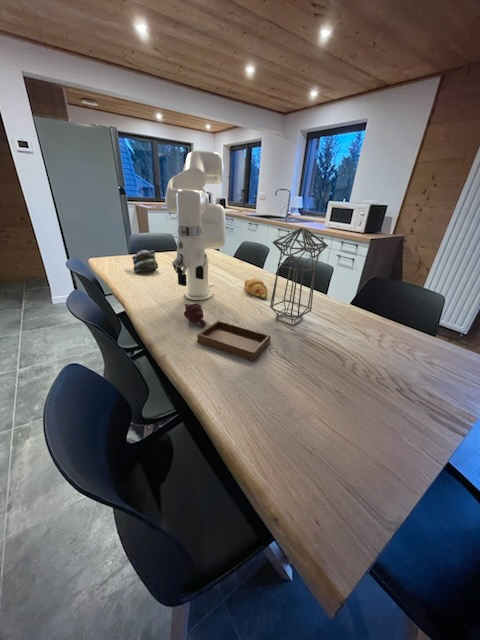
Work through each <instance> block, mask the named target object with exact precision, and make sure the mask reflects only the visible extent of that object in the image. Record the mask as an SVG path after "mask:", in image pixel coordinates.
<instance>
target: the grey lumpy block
mask: <svg viewBox="0 0 480 640" xmlns="http://www.w3.org/2000/svg"><path fill="white" fill-rule="evenodd" d="M131 258H132V264H133V268H132V269H133V271H134V273H136V274H137V273H139V272H145V271H156V270H158V269H159V264H158V262H157V260H156V253H155V251H154V250H151V249H150V248H147V249H146V250H140V251H137V252H136V253H135V255H133V256H131Z"/></svg>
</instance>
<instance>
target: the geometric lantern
mask: <svg viewBox="0 0 480 640" xmlns="http://www.w3.org/2000/svg"><path fill="white" fill-rule="evenodd" d="M300 234H302V235H301V236H302V240H300V239H298V238H299V237H300ZM312 237H313V238H314V239H316V240H317V241H318V242H320V243H316V242H315V241H314V240H313V238H312ZM285 238H286V239H285ZM281 240H283V241H281ZM291 243H292V244H291ZM296 243H297V244H298V245H299V246H300V247H294V244H296ZM301 243H302V244H303V245H302V244H301ZM272 245H274V246H275V247H276V248H277V250H278V251H280V254H279V259H278V263H277V268H276V274H275V280H274V285H273V289H272V294H271V300H270V304H269V308H270V309H271V310H272V311H273V312H274V313H275V314H276V317H275V319H276V320H277V321H279V322H282V323H285V324H288V325H290V326H295V325H297V324H298V323H300V322H301V321H302V320H303V318H304V315H307V314H308V313H311V312H312V309H313V308H312V307H313V297H314V287H315V277H316V269H317V266H318V261H319V257H320V254H321V253H322V252H324V250H326V248H327V247H329V244H327V243H326V242H324V241H323V240H322V239H320V237H318V236H316V235H315V234H313V232H311V231H310V230H309V229H307V228H306V227H299V228H298V229H295V230H294V231H291V232H289V233H288V234H285V235H284V236H281V237H279V238H277V239H275V240H273V241H272ZM288 249H289V252H288ZM292 250H298V251H295V252H292ZM316 251H318V252H317V253H316ZM301 252H302V253H301ZM306 252H307V253H309V254H310V257H309V258H308V259H307V261H306V262H301V261H299V260H301V258H302V257H303V256H304V254H305V253H306ZM299 253H301V254H300V256H299V257H298V258H297V260H295V258H294V256H295V255H297V254H299ZM284 256H286V257H288V258H289V260H288V261H284V262H281V261H282V259H283V257H284ZM313 259H316V260H315V264H314V260H313ZM310 260H311V262H312V264H311V263H308V262H309V261H310ZM288 263H290V264H289V266H285V265H284V264H288ZM297 263H298V264H302V265H303V266H302V267H301V269H300V268H299V267H298V264H297ZM293 264H294V268H293V267H292V265H293ZM306 265H307V266H310V267H311V268H307V269H304V268H305V266H306ZM280 267H282V268H285V269H289V270H288V275H287V279H286V285H285V289H284V295H283V300H281V301H278V302H276V303H275V298H276V297H275V296H276V291H277V290H276V289H277V284H278V279H279V278H278V277H279V271H280ZM303 269H304V270H303ZM291 270H293V275H292V283H291V289H290V295H289V300H286V295H287V290H288V285H289V281H290V275H291ZM311 270H312V276H311V283H310V290H309V297H308V302H307V305H304V304H301V300H302V290H303V289H302V288H303V280H304V272H307V271H311ZM299 272H301V277H300V286H299V298H298V302H295V296H296V290H297V283H298V276H299ZM286 302H287V303H288V304H287V307H286ZM282 303H283V306H284V308H283V309H282V310H278V309H276V308H274V306H277V305H279V304H282ZM290 304H291V308H290ZM294 304H295V305H297V306H298V307H297V311H296V310H294ZM301 307H304V308H306V309H305V310H303V311H302V312H300V309H301ZM288 311H290V312H288ZM293 312H294V313H297V315H296V314H293ZM279 317H282V318H285V319H288V320H290V321H291V323H289V322H286V321H284V320H282V319H279ZM293 318H294V319H293ZM299 318H300V319H299ZM298 319H299V320H298ZM296 320H298V321H296Z"/></svg>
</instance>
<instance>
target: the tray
mask: <svg viewBox="0 0 480 640" xmlns="http://www.w3.org/2000/svg"><path fill="white" fill-rule="evenodd" d="M196 338H197V339H196V340H197V341H196V342H198V343H200V344H203V345H206V346H209V347H212V348H214V349H218V350H221V351H224V352H227V353H229V354H232V355H235V356H238V357H241V358H244V359H247V360H249V361H252V362H254V361H255V360H256V359H257V358H258V357H259V355H261V353H262V352H263V351H264V350H266V347H267V346H268V345H269V344H270V343H271V335H270V334H267V333H264V332H260V331H258V330H257V331H256V330H254V329H250V328H246V327H244V326H239V325H236V324H232V323H229V322H225V321H223V320H219V319H218V320H216V321H214V322H213V323H211V324H210V325H209V326H207V327H206V328H204V329H203V330H201V331H200V332H199V333H197V335H196Z"/></svg>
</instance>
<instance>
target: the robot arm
mask: <svg viewBox="0 0 480 640" xmlns="http://www.w3.org/2000/svg"><path fill="white" fill-rule="evenodd" d="M182 168H183V170H182V171H181V172H178V173H177V174H176V175H174V176H172V177H171V178H170V180H168V183H167V186H166V190H165V200H164V201H165V206H166V208H167V210H168V211H169V212H171V213H175V214H176V215H177V216H176V217H177V234H178V235H177V241H176V258H175V259H174V260H173V261H172V262H171V265H172V267H173V270H174V271H175V273H176V274H177V284H178V285H179V286H183V287H187V291H185V292H184V297H185V298H186V299H188V300H192V301H204V300H208V299H211V298H212V296H213V293H212V291H210V289H212V288H214V284H213V283H209V278H210V277H209V274H210V273H209V267H210V266H209V264H210V263H209V260H210V259H209V257H208V255H207V253H206V252H205V249H206V250H207V249H208V250H210V249H211V250H221V249H223V248H224V246H225V244H226V212H225V207H224V206H223V205H221V204H219V203H210V199H209V194H208V192H207V191H206V189H204V187H205V186H206V185H207V184H208V185H220V184H221V183H223V180H224V175H225V173H224V171H225V170H224V168H225V167H224V160H223V157H222V155H221V154H220V153H219V152H217V151H209V150H192V151H189V152H188V154H187V155H186V157H185V163H184V165H183V167H182ZM186 273H187V274H186Z"/></svg>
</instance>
